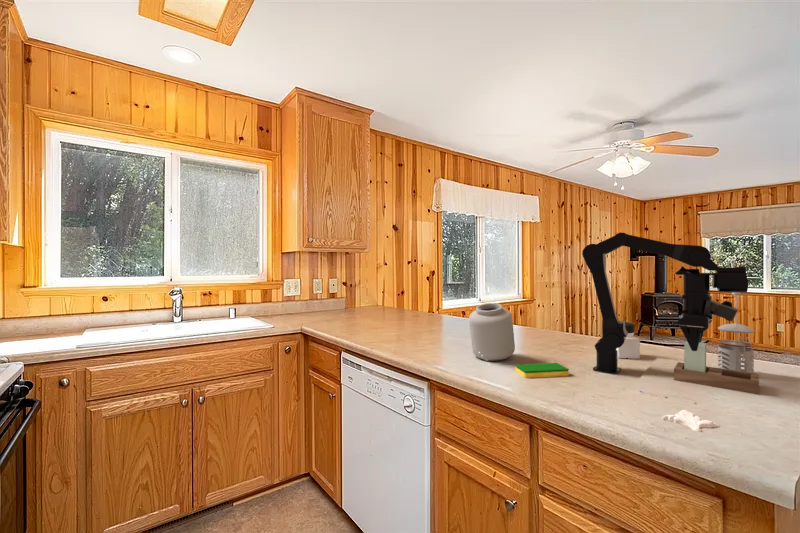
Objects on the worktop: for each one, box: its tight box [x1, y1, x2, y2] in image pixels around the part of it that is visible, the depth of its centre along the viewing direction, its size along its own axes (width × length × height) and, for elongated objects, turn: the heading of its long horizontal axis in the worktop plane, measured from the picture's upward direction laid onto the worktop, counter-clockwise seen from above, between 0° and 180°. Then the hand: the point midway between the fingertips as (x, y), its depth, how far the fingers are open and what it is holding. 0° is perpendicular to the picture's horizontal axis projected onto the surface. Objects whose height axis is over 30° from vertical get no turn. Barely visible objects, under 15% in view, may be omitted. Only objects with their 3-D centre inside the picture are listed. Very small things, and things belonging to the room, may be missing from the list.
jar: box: [468, 287, 516, 365], centre depth 131 cm, size 19×15×25 cm
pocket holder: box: [673, 361, 760, 396], centre depth 101 cm, size 9×17×4 cm, turn 47°
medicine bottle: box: [616, 321, 641, 360], centre depth 132 cm, size 7×7×12 cm
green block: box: [683, 340, 707, 373], centre depth 103 cm, size 4×4×10 cm
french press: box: [717, 292, 755, 373], centre depth 108 cm, size 10×12×25 cm
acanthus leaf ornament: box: [661, 409, 720, 433], centre depth 79 cm, size 8×7×2 cm
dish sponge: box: [514, 362, 570, 379], centre depth 114 cm, size 7×14×2 cm, turn 97°
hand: (696, 347), depth 103 cm, fingers open, 9 cm apart
